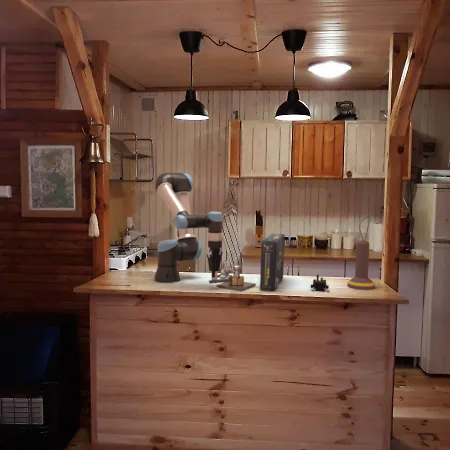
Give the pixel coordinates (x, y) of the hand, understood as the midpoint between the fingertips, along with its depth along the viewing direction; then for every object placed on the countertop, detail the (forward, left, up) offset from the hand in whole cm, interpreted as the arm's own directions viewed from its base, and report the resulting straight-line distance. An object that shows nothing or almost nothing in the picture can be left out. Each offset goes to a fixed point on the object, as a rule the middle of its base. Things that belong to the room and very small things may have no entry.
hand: (214, 282), depth 264 cm
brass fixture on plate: (+9, +9, -3) cm, 13 cm away
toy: (+46, +39, -3) cm, 61 cm away
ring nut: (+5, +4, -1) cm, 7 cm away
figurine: (-11, +30, -3) cm, 32 cm away
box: (+23, +26, -3) cm, 35 cm away
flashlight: (+67, +50, -3) cm, 84 cm away
